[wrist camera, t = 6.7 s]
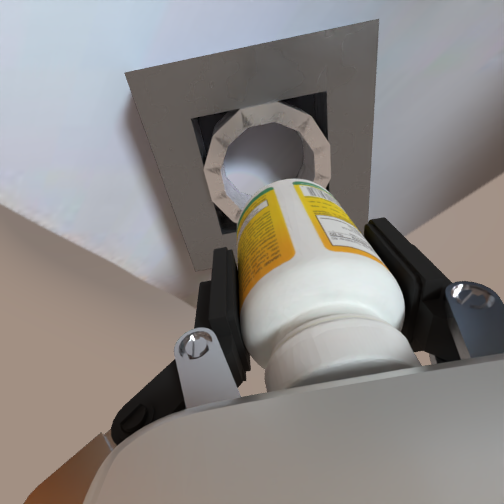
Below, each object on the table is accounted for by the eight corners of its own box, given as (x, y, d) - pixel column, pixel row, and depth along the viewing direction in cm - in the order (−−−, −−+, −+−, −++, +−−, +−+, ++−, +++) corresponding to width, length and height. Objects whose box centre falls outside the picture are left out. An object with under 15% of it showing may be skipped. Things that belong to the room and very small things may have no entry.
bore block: (357, 24, 21) (382, 17, 17) (353, 222, 29) (369, 242, 26) (138, 70, 21) (122, 73, 18) (198, 250, 30) (195, 274, 27)
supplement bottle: (336, 164, 14) (493, 314, 6) (339, 256, 17) (445, 441, 9) (223, 189, 14) (219, 365, 6) (246, 275, 17) (264, 472, 9)
